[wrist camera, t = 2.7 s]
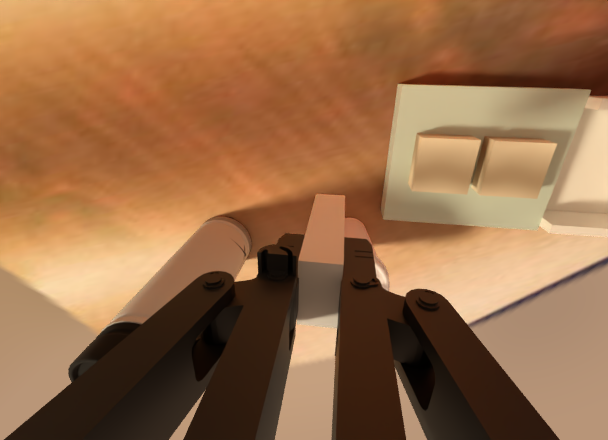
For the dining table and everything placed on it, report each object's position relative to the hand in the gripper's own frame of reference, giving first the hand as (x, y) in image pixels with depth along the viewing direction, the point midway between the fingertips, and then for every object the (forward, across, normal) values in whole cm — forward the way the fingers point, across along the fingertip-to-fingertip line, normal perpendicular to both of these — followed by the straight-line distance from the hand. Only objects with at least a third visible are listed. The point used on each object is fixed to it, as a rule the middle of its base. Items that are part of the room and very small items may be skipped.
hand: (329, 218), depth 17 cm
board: (+16, +12, 0) cm, 20 cm away
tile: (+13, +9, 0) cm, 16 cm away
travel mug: (+16, -12, -11) cm, 23 cm away
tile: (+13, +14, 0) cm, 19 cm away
